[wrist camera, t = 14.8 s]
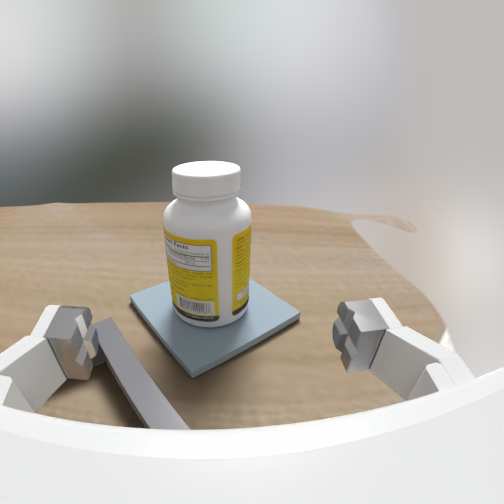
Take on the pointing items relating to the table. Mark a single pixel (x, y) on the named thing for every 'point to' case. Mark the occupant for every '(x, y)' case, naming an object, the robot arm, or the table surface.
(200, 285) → the supplement bottle
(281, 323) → the rubber mat
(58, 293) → the table surface
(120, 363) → the power strip
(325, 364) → the table surface
